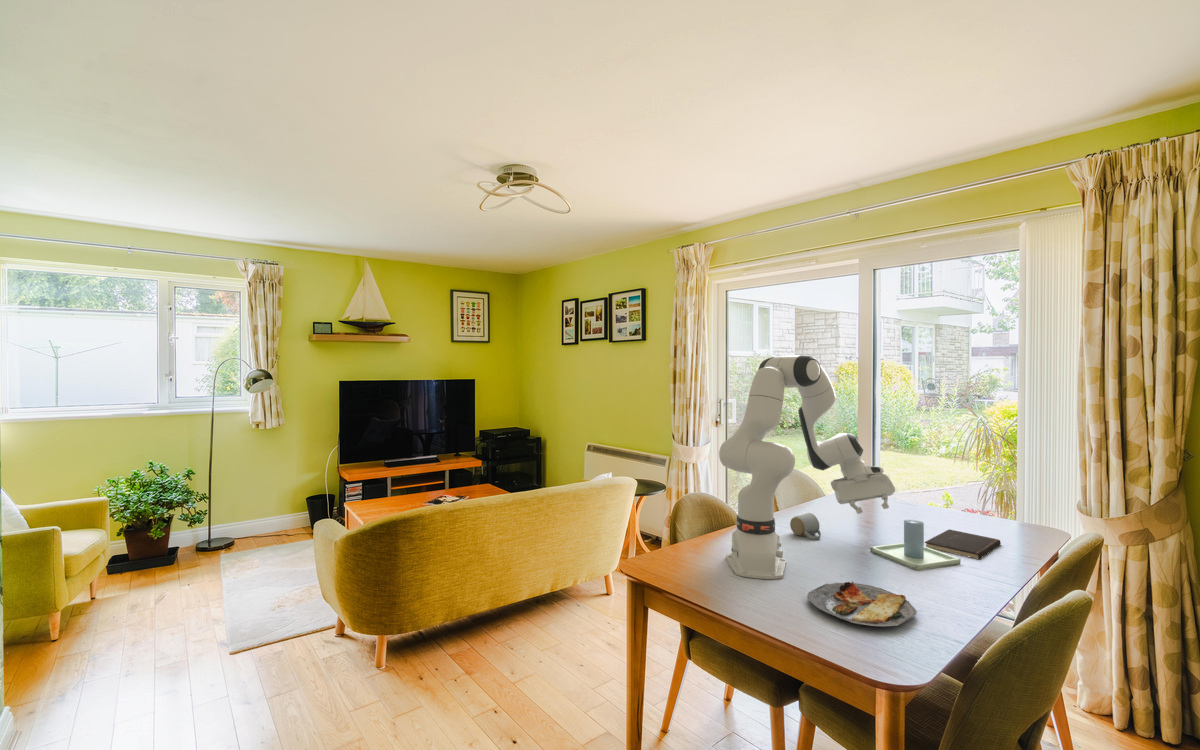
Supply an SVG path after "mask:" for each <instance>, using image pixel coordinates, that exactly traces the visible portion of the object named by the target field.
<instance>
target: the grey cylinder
mask: <svg viewBox="0 0 1200 750" xmlns="http://www.w3.org/2000/svg"><path fill="white" fill-rule="evenodd" d="M924 526H925V523H924V522H923V521H921V520H915V519H905V520H903V543H904V555H905V556H907V557H910V558H917V559H921V558H924V546H925V534H924V533H925V527H924Z"/></svg>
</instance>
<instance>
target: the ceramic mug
mask: <svg viewBox="0 0 1200 750" xmlns="http://www.w3.org/2000/svg"><path fill="white" fill-rule="evenodd" d="M789 526H790V527H789V528H790V529H791V531H792V533H793V534H794V535H796V536H798V535H799V536H798V537H803V536H804V535H805V536H806V537H807V538H809V539H811V540H814V539H817V540H820V539H821V537H822V532H821V531H820V522H819V519H818V517H817V516H816V515H815V514H814V513H811V512H806V513H804V514H800V515H799V514H798V515H795V516H793V517H792V518H791V519H790V523H789ZM815 534H817V535H815ZM819 538H820V539H819Z"/></svg>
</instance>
